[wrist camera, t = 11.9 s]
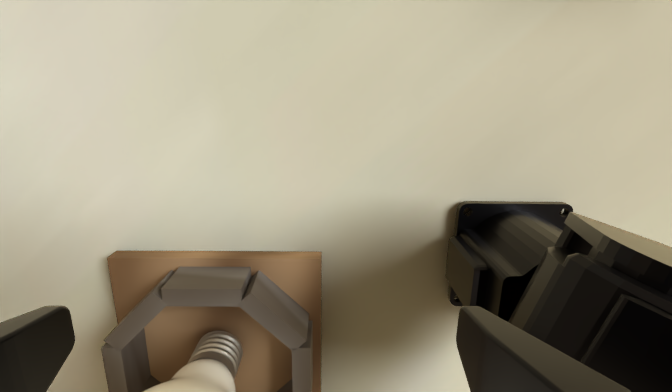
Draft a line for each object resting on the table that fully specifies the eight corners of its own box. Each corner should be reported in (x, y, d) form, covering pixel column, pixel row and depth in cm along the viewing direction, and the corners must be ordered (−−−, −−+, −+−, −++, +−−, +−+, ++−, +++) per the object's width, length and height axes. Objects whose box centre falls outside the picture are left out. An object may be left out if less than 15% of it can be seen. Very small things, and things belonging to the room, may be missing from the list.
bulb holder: (321, 251, 22) (320, 280, 19) (320, 414, 26) (319, 463, 22) (116, 250, 22) (78, 279, 19) (142, 415, 25) (113, 465, 22)
